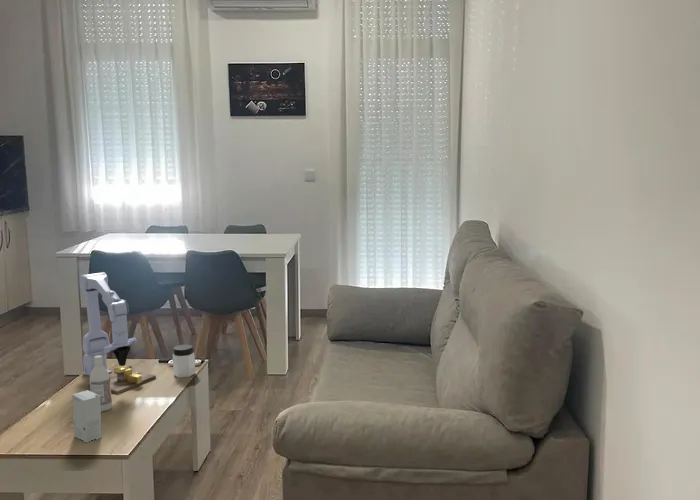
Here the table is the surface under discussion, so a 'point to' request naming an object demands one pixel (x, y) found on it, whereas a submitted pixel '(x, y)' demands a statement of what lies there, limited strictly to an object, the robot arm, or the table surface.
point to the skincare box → (87, 416)
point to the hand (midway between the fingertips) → (122, 365)
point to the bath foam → (101, 383)
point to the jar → (183, 361)
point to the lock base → (120, 385)
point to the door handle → (128, 374)
